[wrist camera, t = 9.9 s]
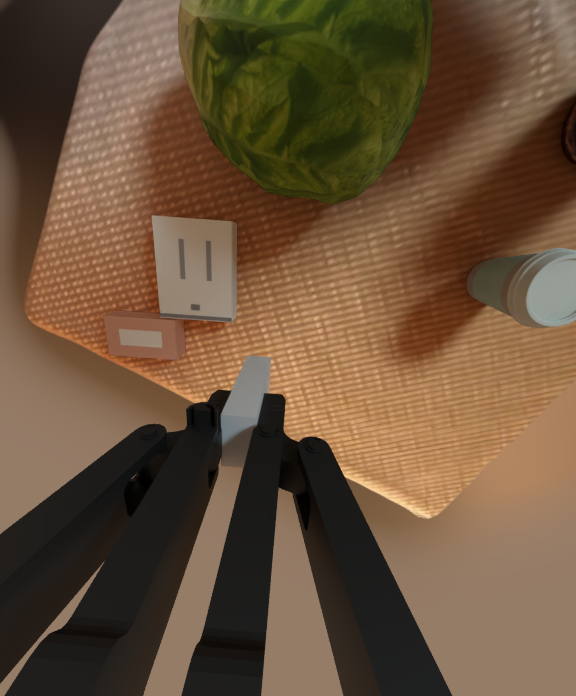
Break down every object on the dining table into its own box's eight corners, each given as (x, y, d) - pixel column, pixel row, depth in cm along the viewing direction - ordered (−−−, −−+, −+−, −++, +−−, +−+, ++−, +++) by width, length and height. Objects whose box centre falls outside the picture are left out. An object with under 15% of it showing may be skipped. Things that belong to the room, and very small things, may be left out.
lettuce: (266, -46, 29) (144, -366, 13) (451, 73, 29) (548, -107, 13) (206, 146, 38) (89, 90, 22) (348, 237, 38) (333, 247, 22)
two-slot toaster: (163, 218, 38) (151, 215, 34) (237, 223, 38) (231, 221, 34) (170, 312, 42) (160, 317, 39) (236, 316, 42) (231, 322, 39)
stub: (117, 310, 42) (102, 315, 39) (183, 315, 42) (174, 320, 39) (122, 347, 44) (108, 355, 41) (185, 351, 44) (176, 360, 41)
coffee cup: (453, 312, 41) (514, 336, 30) (458, 252, 39) (527, 253, 27) (513, 306, 41) (597, 327, 30) (522, 245, 38) (619, 242, 27)
